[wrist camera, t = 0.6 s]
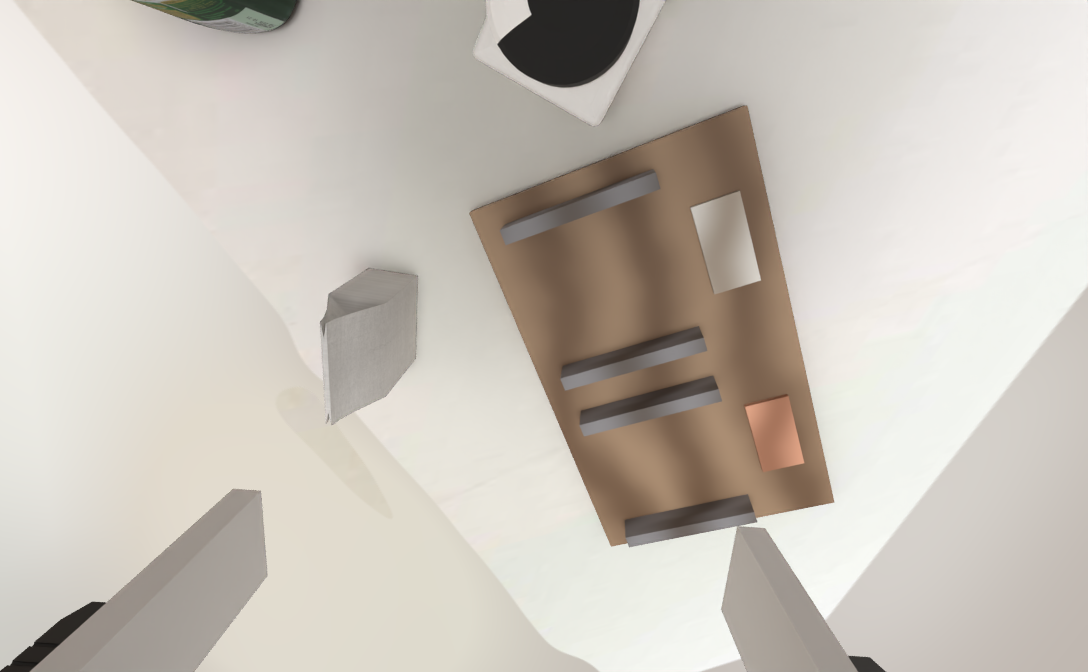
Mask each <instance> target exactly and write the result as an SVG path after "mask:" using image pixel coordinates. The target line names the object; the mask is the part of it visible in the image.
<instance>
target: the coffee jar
mask: <svg viewBox="0 0 1088 672" xmlns="http://www.w3.org/2000/svg"><path fill="white" fill-rule="evenodd" d="M132 1H135V2H137V3H140V4H143V5H146V6H149V7H151V8H154V9H157V10H160V11H162V12H165V13H168V14H170V15H173V16H176V17H179V18H181V19H184V20H187V21H190V22H193V23H196V24H199V25H203V26H206V27H210V28H214V29H219V30H224V31H230V32H239V33H255V32H263V31H269V30H273V29H275V28H277V27H279V26H281V25H282V24H283V23H284V22H286V21H287V19H288V18H289V17H290V15H291V13H292V11H293V9H294V6H295V2H296V0H132Z"/></svg>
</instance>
